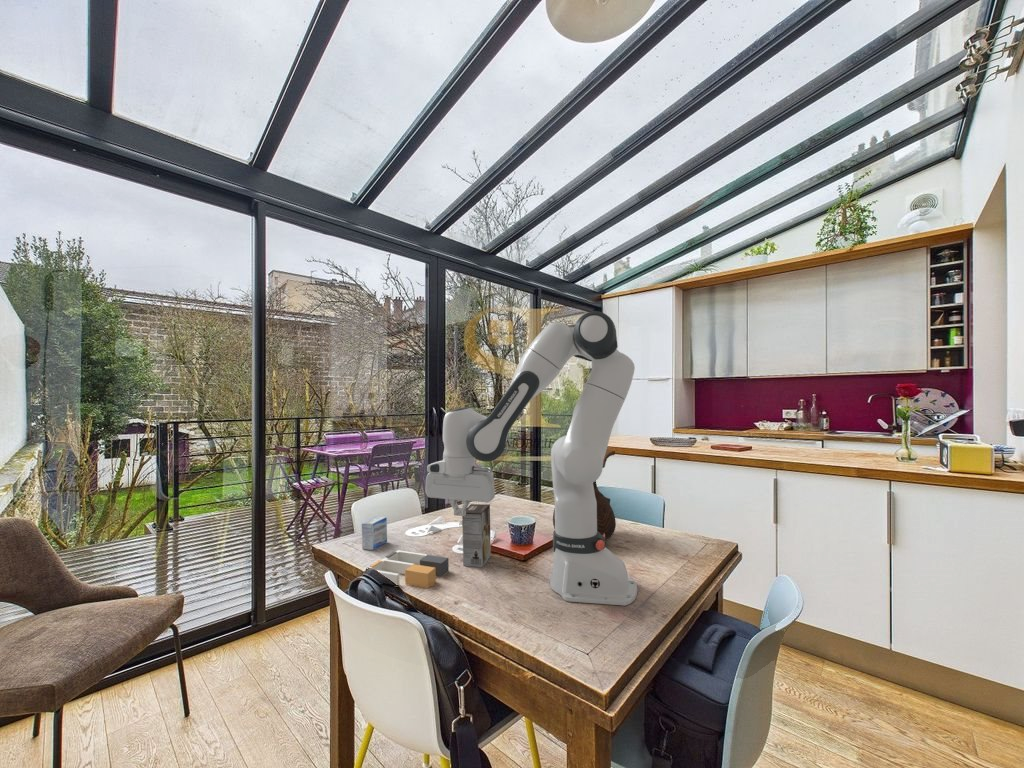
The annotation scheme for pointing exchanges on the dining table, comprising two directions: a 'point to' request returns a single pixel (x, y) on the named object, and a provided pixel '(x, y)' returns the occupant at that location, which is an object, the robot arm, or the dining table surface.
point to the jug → (602, 508)
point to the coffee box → (476, 535)
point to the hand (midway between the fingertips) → (460, 515)
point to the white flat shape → (437, 527)
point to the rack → (397, 564)
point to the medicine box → (374, 533)
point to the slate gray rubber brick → (436, 564)
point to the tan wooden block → (420, 576)
